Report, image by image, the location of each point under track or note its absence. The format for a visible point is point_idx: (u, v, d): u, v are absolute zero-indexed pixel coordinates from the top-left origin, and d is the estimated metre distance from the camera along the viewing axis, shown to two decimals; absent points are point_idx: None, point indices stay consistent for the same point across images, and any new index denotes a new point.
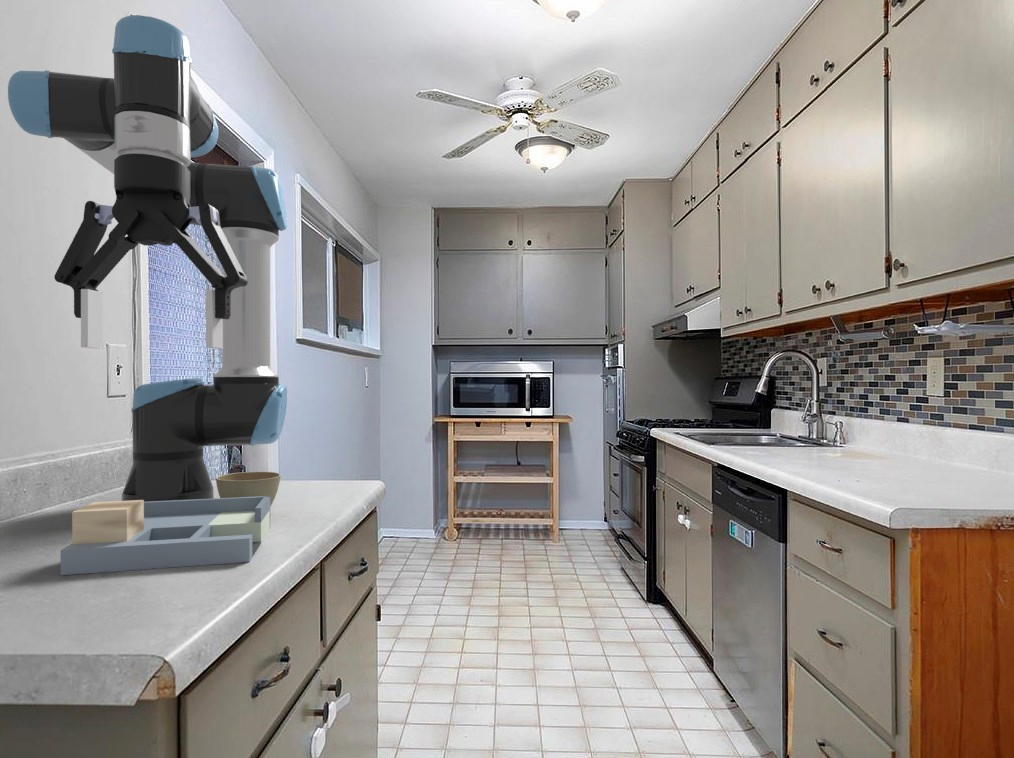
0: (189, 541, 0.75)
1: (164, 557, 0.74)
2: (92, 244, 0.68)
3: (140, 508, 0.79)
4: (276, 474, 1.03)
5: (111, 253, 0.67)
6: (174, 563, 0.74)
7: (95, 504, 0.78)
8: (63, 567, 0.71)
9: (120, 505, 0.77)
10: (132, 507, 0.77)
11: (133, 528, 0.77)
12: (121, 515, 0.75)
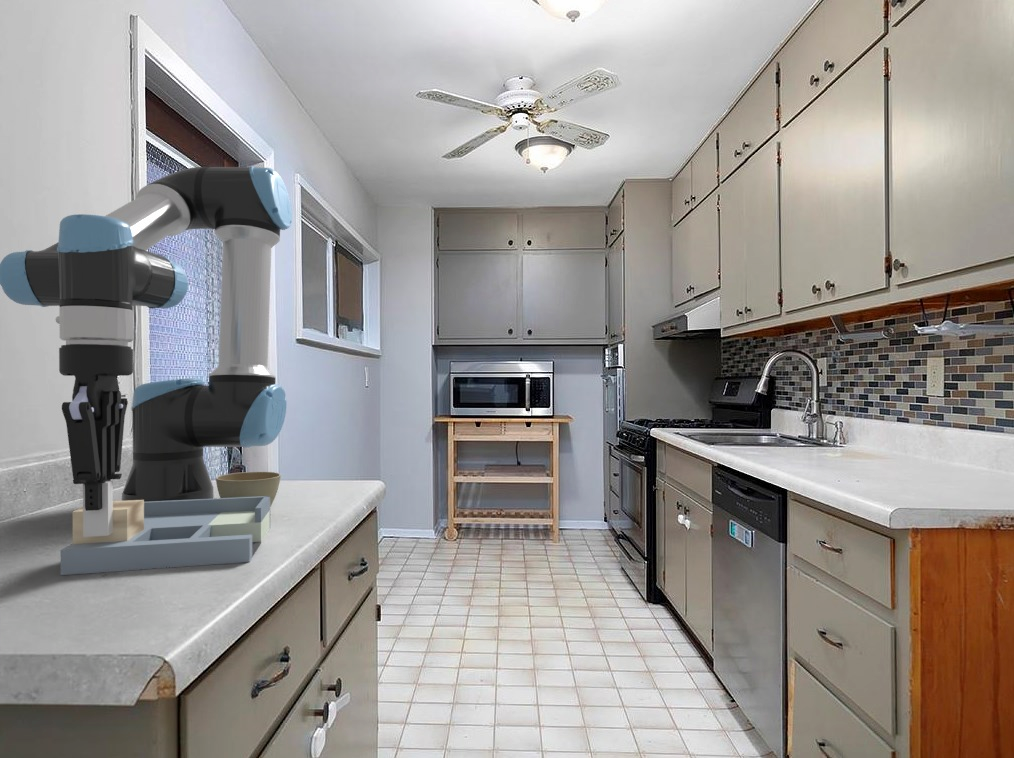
0: (189, 541, 0.75)
1: (164, 557, 0.74)
2: None
3: (140, 508, 0.80)
4: (276, 474, 1.03)
5: None
6: (174, 563, 0.74)
7: None
8: (63, 567, 0.71)
9: (120, 505, 0.77)
10: (132, 507, 0.77)
11: (133, 528, 0.77)
12: (122, 515, 0.75)
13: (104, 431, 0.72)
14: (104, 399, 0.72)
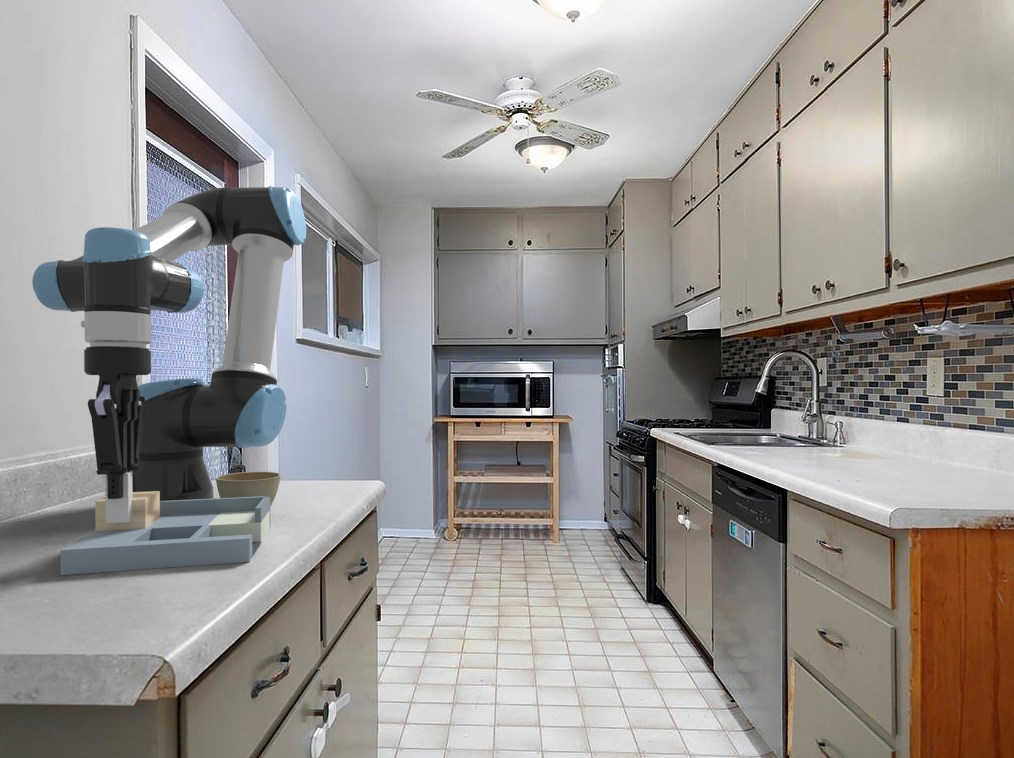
0: (189, 541, 0.75)
1: (164, 557, 0.74)
2: None
3: (157, 499, 0.86)
4: (276, 474, 1.03)
5: None
6: (174, 563, 0.74)
7: None
8: (63, 567, 0.71)
9: (138, 495, 0.84)
10: (150, 497, 0.83)
11: (150, 516, 0.83)
12: (140, 504, 0.81)
13: (125, 426, 0.79)
14: (125, 397, 0.78)
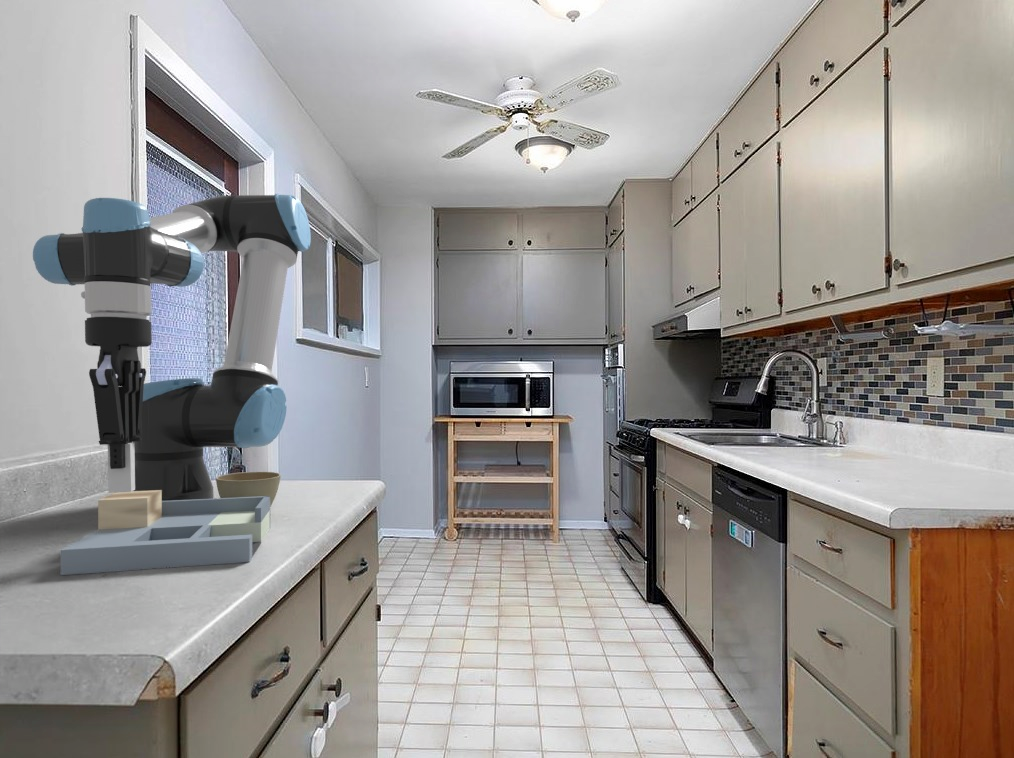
0: (189, 541, 0.75)
1: (164, 557, 0.74)
2: None
3: (159, 498, 0.87)
4: (276, 474, 1.03)
5: None
6: (174, 563, 0.74)
7: (118, 493, 0.85)
8: (63, 567, 0.71)
9: (141, 494, 0.84)
10: (152, 496, 0.84)
11: (152, 515, 0.84)
12: (142, 503, 0.82)
13: (126, 397, 0.79)
14: (126, 367, 0.79)
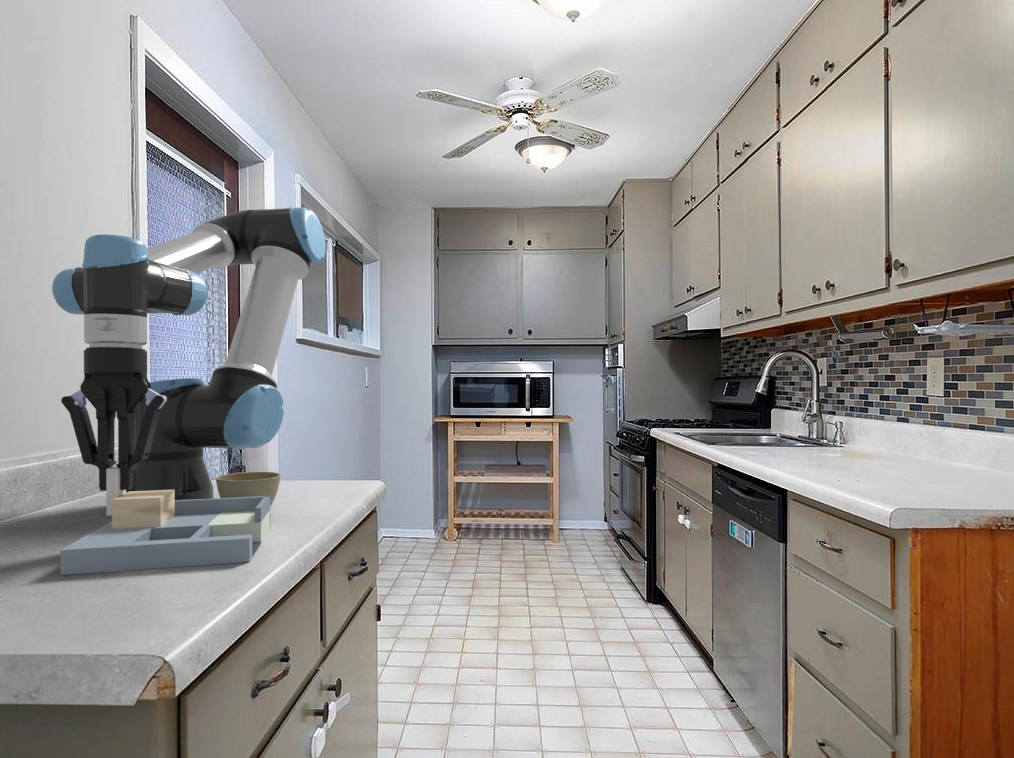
0: (189, 541, 0.75)
1: (164, 557, 0.74)
2: (87, 424, 0.83)
3: (171, 497, 0.87)
4: (276, 474, 1.03)
5: (107, 428, 0.83)
6: (174, 563, 0.74)
7: (131, 493, 0.85)
8: (63, 567, 0.71)
9: (154, 494, 0.85)
10: (165, 496, 0.84)
11: (165, 515, 0.84)
12: (155, 502, 0.82)
13: None
14: None
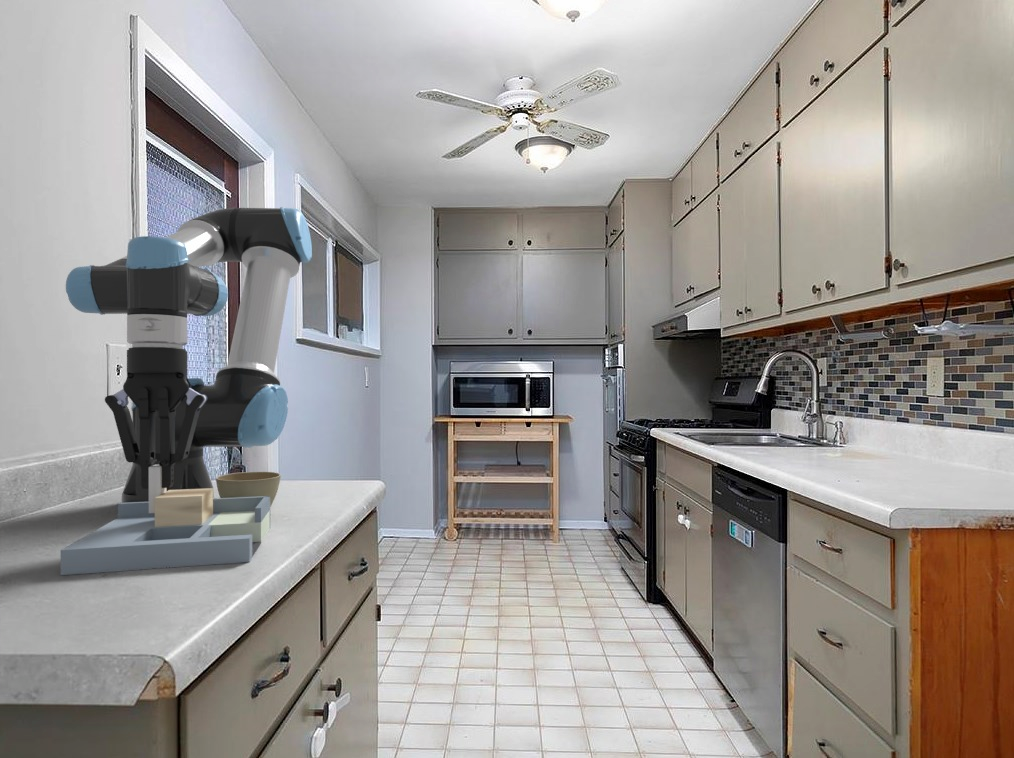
0: (189, 541, 0.75)
1: (164, 557, 0.74)
2: (130, 423, 0.85)
3: (210, 496, 0.88)
4: (276, 474, 1.03)
5: (150, 427, 0.84)
6: (174, 563, 0.74)
7: (171, 491, 0.86)
8: (63, 567, 0.71)
9: (194, 492, 0.86)
10: (205, 494, 0.85)
11: (206, 513, 0.85)
12: (197, 501, 0.83)
13: None
14: None
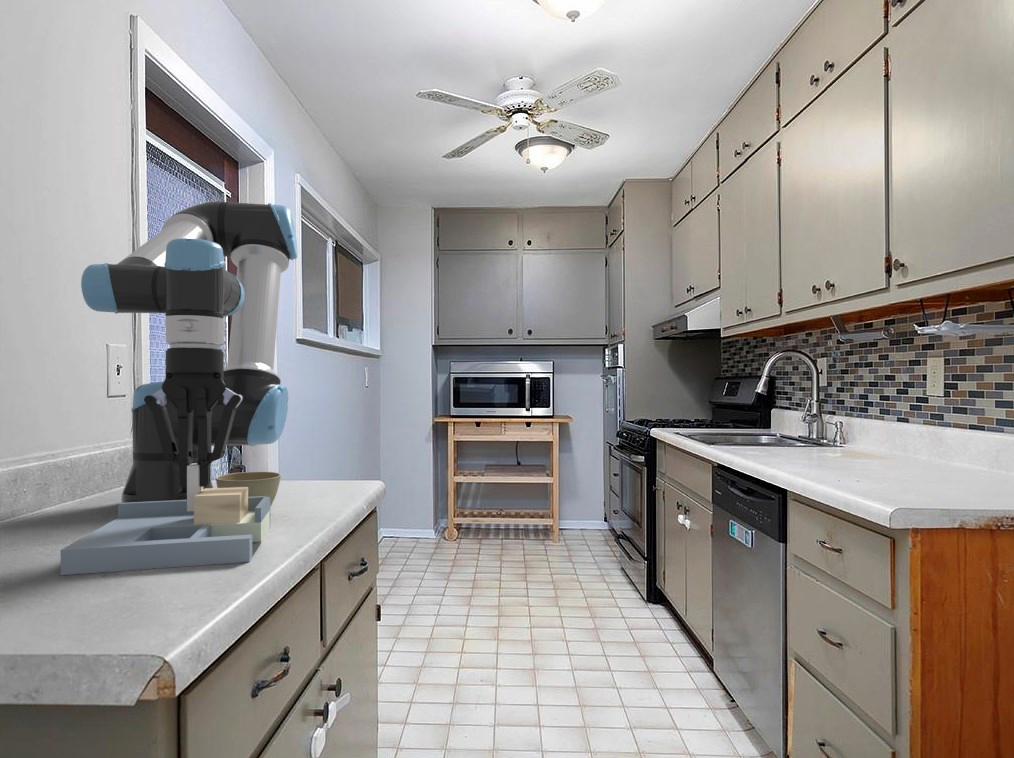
0: (189, 541, 0.75)
1: (164, 557, 0.74)
2: (168, 423, 0.86)
3: (246, 494, 0.89)
4: (276, 474, 1.03)
5: (188, 426, 0.85)
6: (174, 563, 0.74)
7: (208, 490, 0.88)
8: (63, 567, 0.71)
9: (231, 491, 0.87)
10: (242, 493, 0.86)
11: (242, 511, 0.87)
12: (235, 499, 0.84)
13: None
14: None
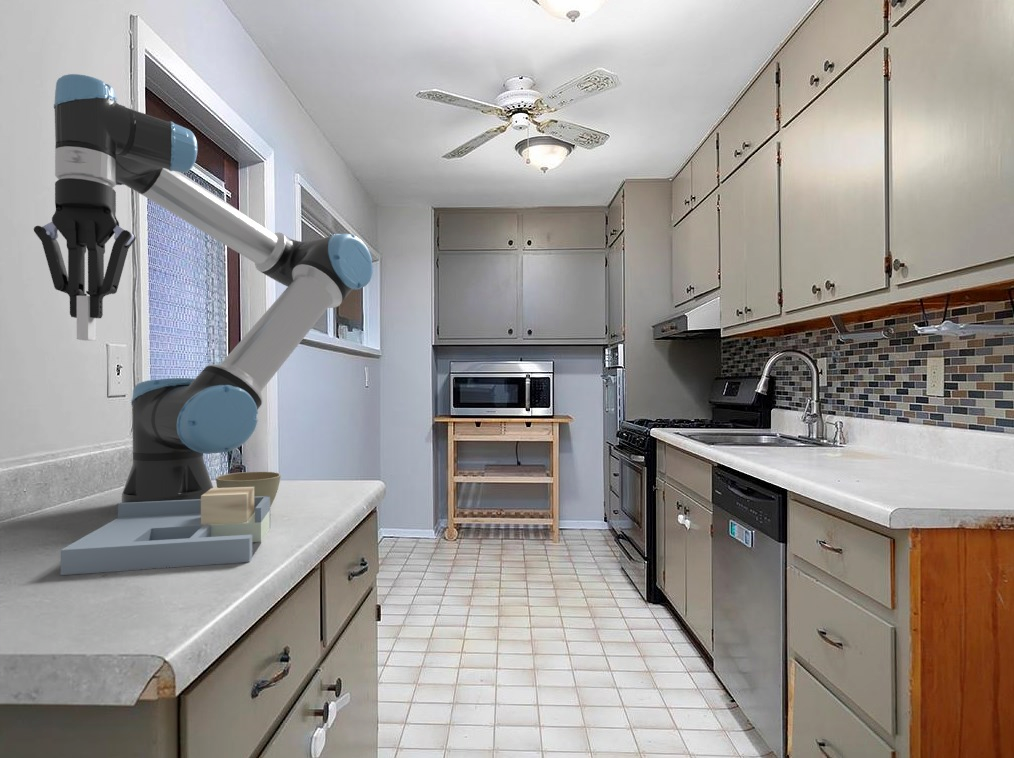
0: (189, 541, 0.75)
1: (164, 557, 0.74)
2: (59, 256, 0.89)
3: (252, 494, 0.90)
4: (276, 474, 1.03)
5: (78, 258, 0.89)
6: (174, 563, 0.74)
7: (215, 490, 0.88)
8: (63, 567, 0.71)
9: (238, 491, 0.87)
10: (249, 492, 0.87)
11: (249, 511, 0.87)
12: (242, 499, 0.85)
13: None
14: None
